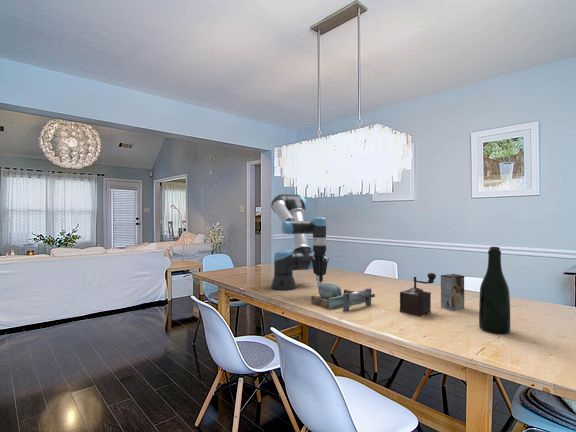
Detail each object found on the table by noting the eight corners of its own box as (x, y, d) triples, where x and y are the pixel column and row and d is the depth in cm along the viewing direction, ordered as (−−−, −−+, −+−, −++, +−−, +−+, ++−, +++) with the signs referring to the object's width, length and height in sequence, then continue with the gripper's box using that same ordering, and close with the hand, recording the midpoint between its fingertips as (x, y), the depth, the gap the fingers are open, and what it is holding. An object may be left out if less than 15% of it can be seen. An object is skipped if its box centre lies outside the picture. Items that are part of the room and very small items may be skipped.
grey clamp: (342, 309, 154) (342, 293, 154) (370, 302, 167) (370, 287, 167) (347, 311, 151) (347, 294, 151) (376, 304, 164) (376, 288, 164)
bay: (311, 302, 167) (311, 293, 167) (345, 295, 182) (345, 286, 182) (330, 309, 155) (330, 298, 155) (365, 300, 170) (365, 291, 170)
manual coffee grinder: (421, 317, 143) (421, 276, 143) (399, 311, 152) (399, 273, 152) (437, 310, 153) (438, 273, 153) (415, 305, 162) (416, 269, 162)
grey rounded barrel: (347, 293, 173) (339, 277, 172) (338, 304, 167) (329, 288, 166) (330, 294, 184) (321, 280, 182) (320, 305, 178) (311, 290, 176)
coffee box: (453, 305, 163) (453, 273, 162) (464, 308, 157) (464, 275, 157) (440, 307, 159) (440, 274, 159) (451, 311, 153) (451, 277, 153)
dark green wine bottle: (515, 331, 126) (515, 247, 126) (502, 336, 120) (502, 248, 120) (487, 323, 135) (487, 245, 135) (473, 328, 129) (473, 246, 129)
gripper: (306, 244, 184) (307, 285, 183) (322, 246, 173) (322, 290, 173) (316, 243, 188) (316, 284, 188) (332, 245, 177) (332, 288, 177)
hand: (319, 287), depth 180 cm, fingers closed
